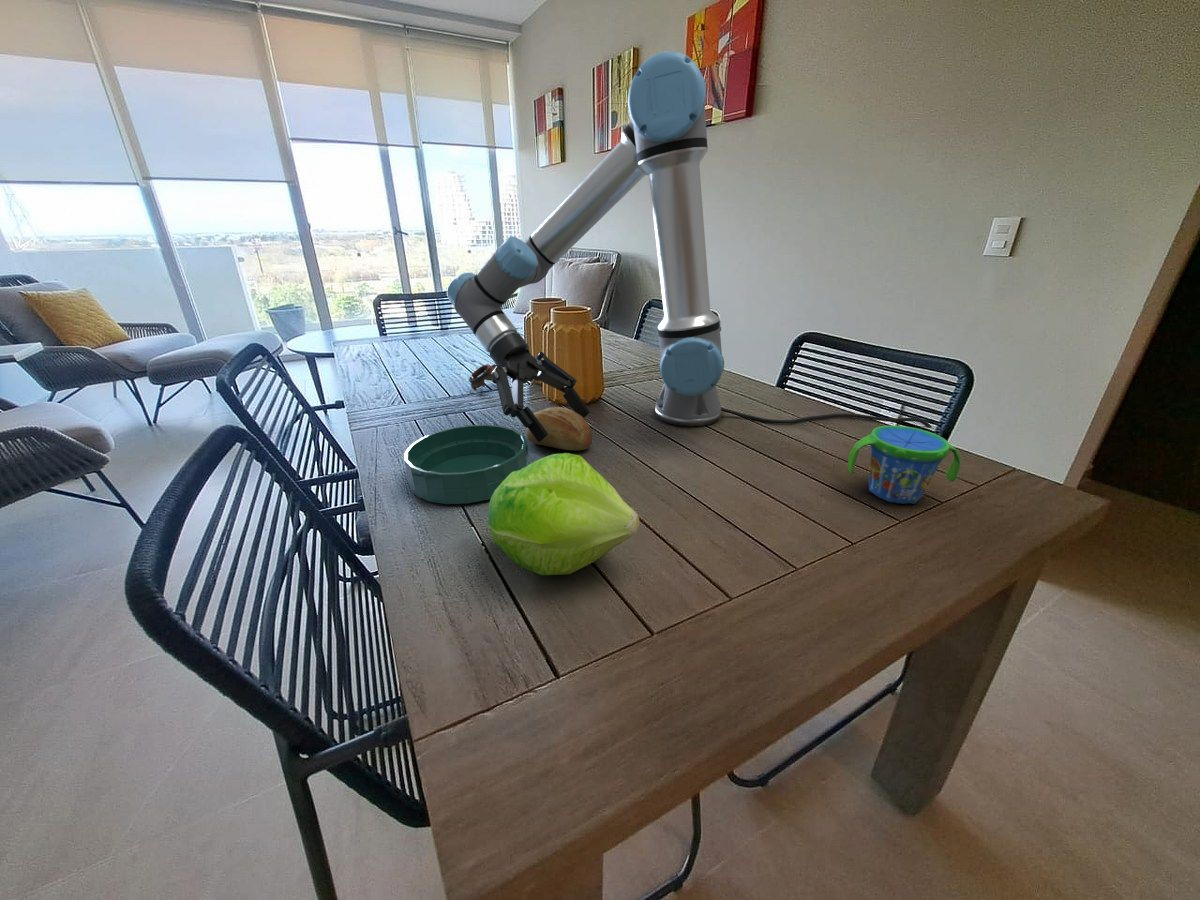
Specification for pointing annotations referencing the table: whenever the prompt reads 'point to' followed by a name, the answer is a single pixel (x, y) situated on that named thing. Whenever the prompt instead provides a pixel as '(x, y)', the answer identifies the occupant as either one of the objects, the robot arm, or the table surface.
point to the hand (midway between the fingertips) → (565, 426)
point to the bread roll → (563, 429)
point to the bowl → (464, 462)
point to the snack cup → (904, 462)
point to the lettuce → (558, 515)
